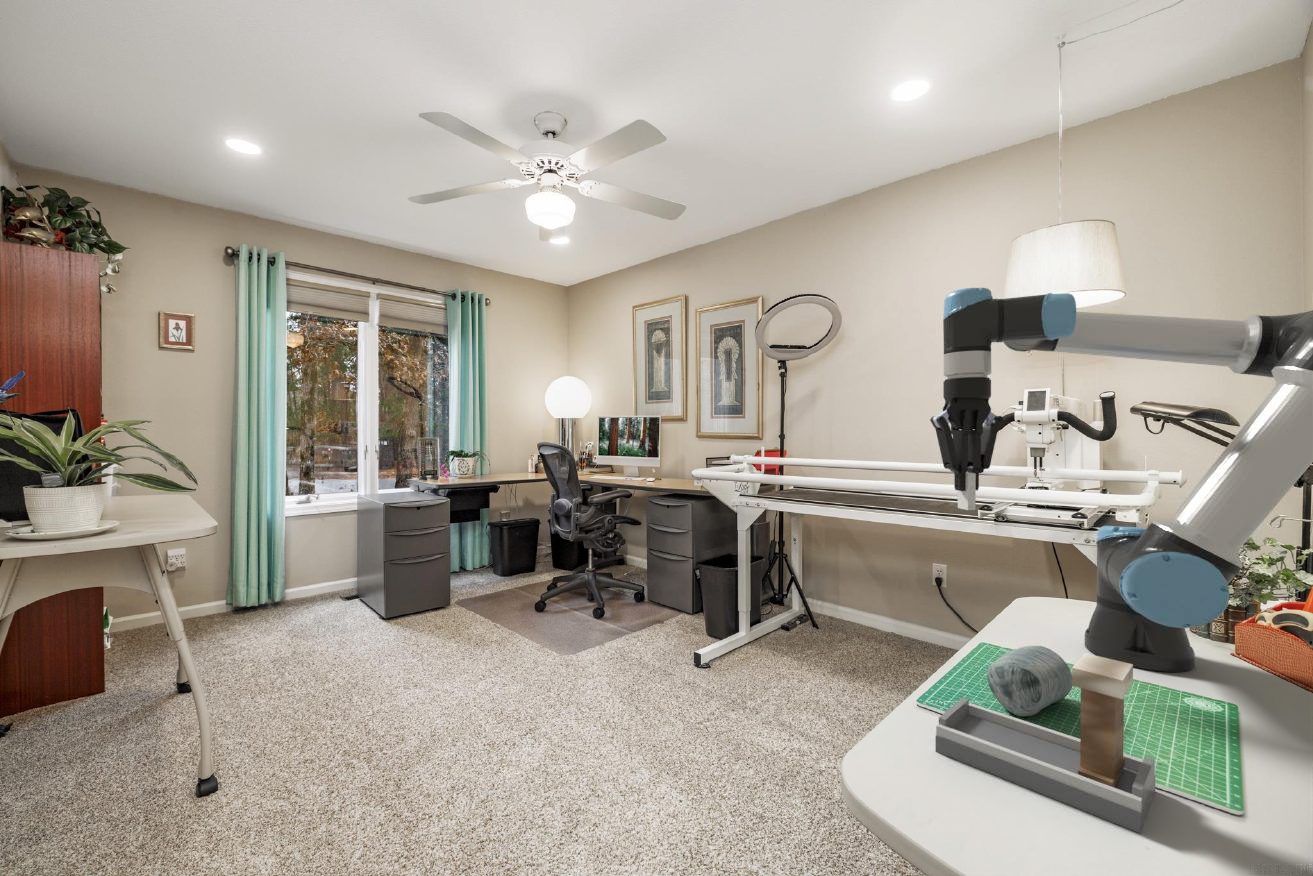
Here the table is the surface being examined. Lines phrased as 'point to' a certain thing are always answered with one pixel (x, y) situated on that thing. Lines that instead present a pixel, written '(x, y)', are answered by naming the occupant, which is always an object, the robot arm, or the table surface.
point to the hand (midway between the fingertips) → (966, 508)
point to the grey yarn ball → (1029, 679)
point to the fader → (1102, 716)
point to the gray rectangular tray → (1044, 763)
